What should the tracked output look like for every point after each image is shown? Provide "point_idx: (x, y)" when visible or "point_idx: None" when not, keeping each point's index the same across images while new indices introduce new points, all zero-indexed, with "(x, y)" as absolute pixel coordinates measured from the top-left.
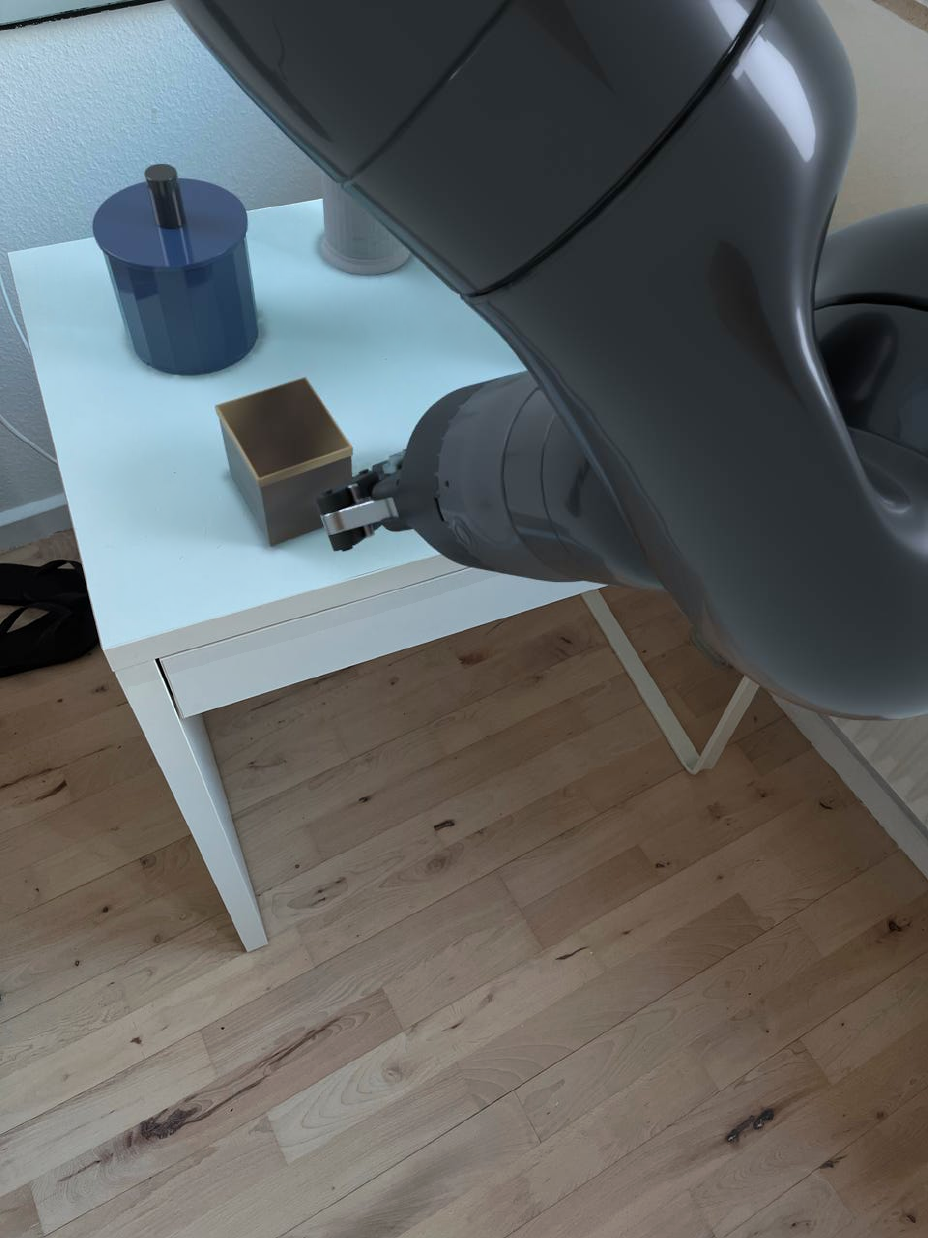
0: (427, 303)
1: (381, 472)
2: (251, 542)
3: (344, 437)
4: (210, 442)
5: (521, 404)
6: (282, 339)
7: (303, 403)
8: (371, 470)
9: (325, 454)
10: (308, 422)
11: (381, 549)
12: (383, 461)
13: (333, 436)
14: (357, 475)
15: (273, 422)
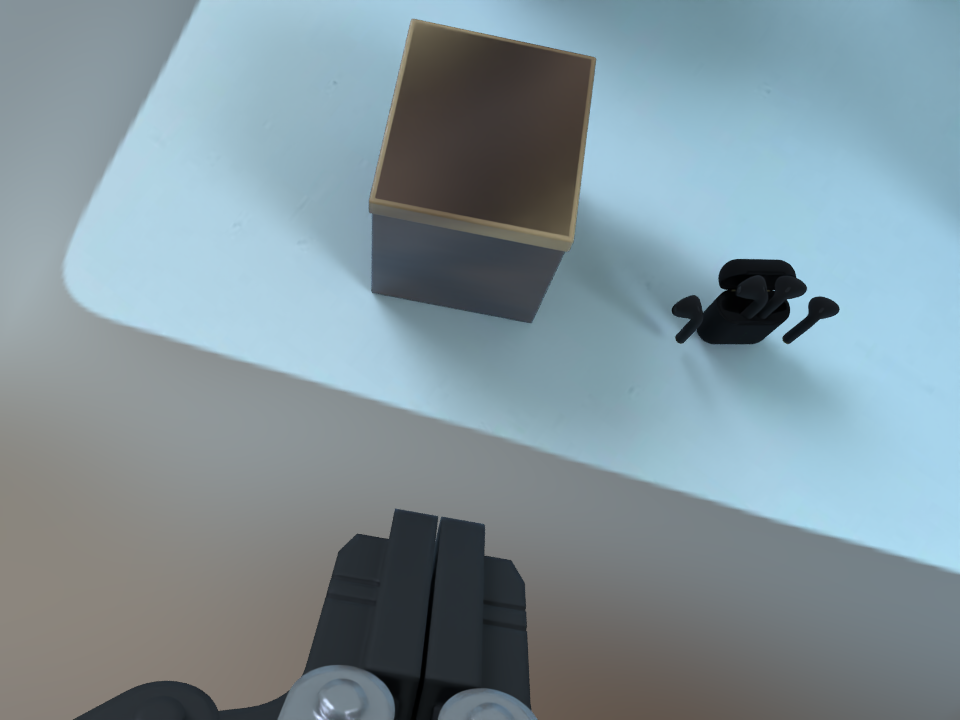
0: (896, 38)
1: (371, 590)
2: (351, 266)
3: (573, 213)
4: None
5: None
6: None
7: (554, 104)
8: (214, 711)
9: (517, 225)
10: (535, 145)
11: (528, 410)
12: (429, 525)
13: (556, 199)
14: (139, 704)
15: (479, 108)
